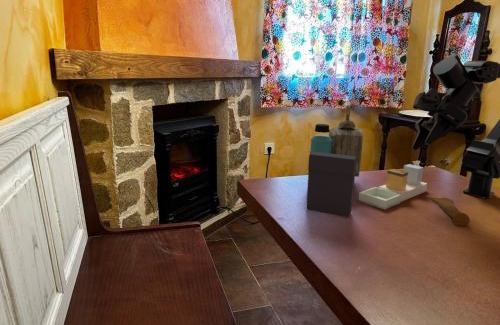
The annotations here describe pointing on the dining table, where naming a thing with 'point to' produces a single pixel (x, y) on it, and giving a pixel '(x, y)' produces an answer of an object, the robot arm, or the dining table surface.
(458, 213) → the primitive tool
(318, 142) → the beverage bottle
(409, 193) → the white flat block
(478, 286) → the dining table surface
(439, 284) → the dining table surface
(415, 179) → the block
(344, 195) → the upright charcoal panel
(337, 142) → the grey brown pump bottle
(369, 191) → the parts tray
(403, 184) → the block
